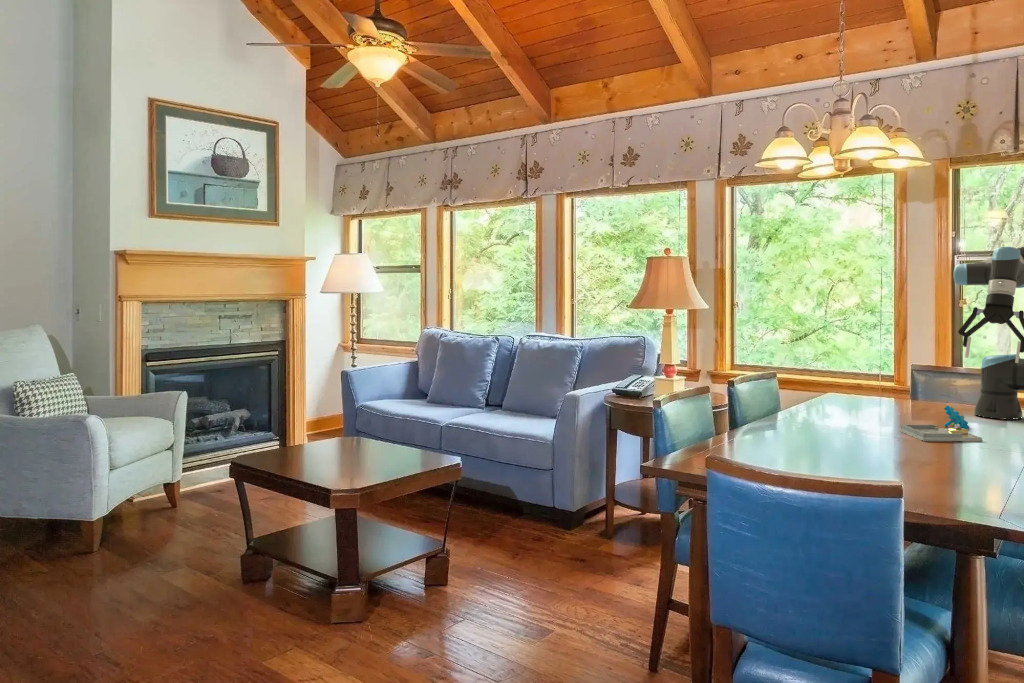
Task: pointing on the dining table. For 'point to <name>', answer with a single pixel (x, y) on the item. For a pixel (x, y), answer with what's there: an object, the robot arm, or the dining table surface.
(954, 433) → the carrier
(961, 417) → the gear
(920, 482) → the dining table surface
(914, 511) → the dining table surface
